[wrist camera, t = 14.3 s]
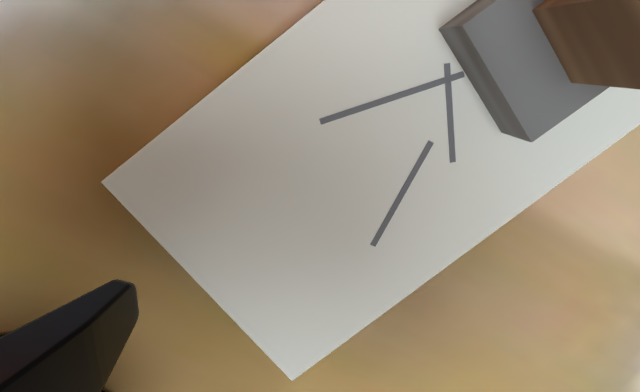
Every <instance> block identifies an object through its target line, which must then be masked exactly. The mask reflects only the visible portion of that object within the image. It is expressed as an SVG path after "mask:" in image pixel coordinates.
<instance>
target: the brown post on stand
mask: <svg viewBox="0 0 640 392" xmlns="http://www.w3.org/2000/svg"><path fill="white" fill-rule="evenodd" d="M439 31H440V33H441V34H442V36H443V38H444V39H445V41H446V43H447V44H448V46H449V47H450V49H451V51H452V52H453V54H454V56H455V57H456V59H457V61H458V62H459V64H460V66H461V67H462V69H463V70H464V72H465V74H466V75H467V77H468V79H469V80H470V82H471V84H472V85H473V87H474V89H475V90H476V92H477V93H478V95H479V97H480V98H481V100H482V102H483V103H484V105H485V107H486V108H487V110H488V112H489V113H490V115H491V116H492V118H493V120H494V121H495V123H496V125H497V126H498V128H499V130H500V131H501V133H504V134H507V135H510V136H513V137H516V138H519V139H522V140H525V141H528V142H531V143H532V142H533V141H535V140H536V139H537V138H539V137H540V136H542V135H543V134H545V133H546V132H547V131H549V130H550V129H552V128H553V127H554V126H556V125H557V124H559V123H560V122H561V121H563V120H564V119H566V118H567V117H568V116H570V115H571V114H573V113H574V112H575V111H577V110H578V109H580V108H581V107H582V106H584V105H585V104H587V103H588V102H589V101H591V100H592V99H594V98H595V97H596V96H598V95H599V94H601V93H602V92H603V91H605V90H606V89H608V88H609V87H619V88H630V89H640V0H477V1H475V2H474V3H473V4H471V5H470V6H469V7H467V8H466V9H465V10H463V11H462V12H461V13H459V14H458V15H457V16H455V17H454V18H453V19H451V20H450V21H448V22H447V23H446V24H444V25H443V26H442V27H440V28H439Z"/></svg>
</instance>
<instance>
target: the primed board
mask: <svg viewBox="0 0 640 392" xmlns="http://www.w3.org/2000/svg"><path fill="white" fill-rule="evenodd" d="M475 1H477V0H324V1H323V2H321V3H320V4H319V5H318V6H316V7H315V8H314V9H313V10H312V11H310V12H309V13H308V14H307V15H305V16H304V17H303V18H302V19H300V20H299V21H298V22H297V23H296V24H294V25H293V26H292V27H291V28H289V29H288V30H287V31H286V32H284V33H283V34H282V35H281V36H280V37H278V38H277V39H276V40H275V41H273V42H272V43H271V44H270V45H268V46H267V47H266V48H265V49H264V50H262V51H261V52H260V53H259V54H257V55H256V56H255V57H254V58H252V59H251V60H250V61H249V62H248V63H246V64H245V65H244V66H243V67H241V68H240V69H239V70H238V71H236V72H235V73H234V74H233V75H232V76H230V77H229V78H228V79H227V80H225V81H224V82H223V83H222V84H221V85H219V86H218V87H217V88H216V89H214V90H213V91H212V92H211V93H209V94H208V95H207V96H206V97H205V98H203V99H202V100H201V101H200V102H198V103H197V104H196V105H195V106H193V107H192V108H191V109H190V110H189V111H187V112H186V113H185V114H184V115H182V116H181V117H180V118H179V119H177V120H176V121H175V122H174V123H173V124H171V125H170V126H169V127H168V128H166V129H165V130H164V131H163V132H161V133H160V134H159V135H158V136H157V137H155V138H154V139H153V140H152V141H150V142H149V143H148V144H147V145H145V146H144V147H143V148H142V149H141V150H139V151H138V152H137V153H136V154H134V155H133V156H132V157H131V158H129V159H128V160H127V161H126V162H125V163H123V164H122V165H121V166H120V167H118V168H117V169H116V170H115V171H114V172H112V173H111V174H110V175H109V176H107V177H106V178H105V179H104V180H102V181H101V183H102V184H103V185H104V186H105V187H106V188H107V189H108V190H109V191H110V192H111V193H112V194H113V195H114V196H115V197H116V198H117V200H118V201H119V202H120V203H121V204H122V205H123V206H124V207H125V208H126V209H127V210H128V211H129V212H130V213H131V214H132V215H133V216H134V217H135V218H136V219H137V220H138V221H139V222H140V223H141V225H142V226H143V227H144V228H145V229H146V230H147V231H148V232H149V233H150V234H151V235H152V236H153V237H154V238H155V239H156V240H157V241H158V242H159V243H160V244H161V245H162V246H163V247H164V248H165V249H166V251H167V252H168V253H169V254H170V255H171V256H172V257H173V258H174V259H175V260H176V261H177V262H178V263H179V264H180V265H181V266H182V267H183V268H184V269H185V270H186V271H187V272H188V273H189V274H190V276H191V277H192V278H193V279H194V280H195V281H196V282H197V283H198V284H199V285H200V286H201V287H202V288H203V289H204V290H205V291H206V292H207V293H208V294H209V295H210V296H211V297H212V298H213V299H214V301H215V302H216V303H217V304H218V305H219V306H220V307H221V308H222V309H223V310H224V311H225V312H226V313H227V314H228V315H229V316H230V317H231V318H232V319H233V320H234V321H235V322H236V323H237V324H238V326H239V327H240V328H241V329H242V330H243V331H244V332H245V333H246V334H247V335H248V336H249V337H250V338H251V339H252V340H253V341H254V342H255V343H256V344H257V345H258V346H259V347H260V348H261V349H262V351H263V352H264V353H265V354H266V355H267V356H268V357H269V358H270V359H271V360H272V361H273V362H274V363H275V364H276V365H277V366H278V367H279V368H280V369H281V370H282V371H283V372H284V373H285V374H286V376H287V377H288V378H289V379H290V380H291V381H293V380H294V379H295V378H297V377H298V376H299V375H301V374H302V373H304V372H305V371H306V370H308V369H309V368H310V367H312V366H313V365H314V364H316V363H317V362H318V361H320V360H321V359H322V358H324V357H325V356H327V355H328V354H329V353H331V352H332V351H333V350H335V349H336V348H337V347H339V346H340V345H341V344H343V343H344V342H346V341H347V340H348V339H350V338H351V337H352V336H354V335H355V334H356V333H358V332H359V331H360V330H362V329H363V328H364V327H366V326H367V325H369V324H370V323H371V322H373V321H374V320H375V319H377V318H378V317H379V316H381V315H382V314H383V313H385V312H386V311H388V310H389V309H390V308H392V307H393V306H394V305H396V304H397V303H398V302H400V301H401V300H402V299H404V298H405V297H406V296H408V295H409V294H411V293H412V292H413V291H415V290H416V289H417V288H419V287H420V286H421V285H423V284H424V283H425V282H427V281H428V280H430V279H431V278H432V277H434V276H435V275H436V274H438V273H439V272H440V271H442V270H443V269H444V268H446V267H447V266H448V265H450V264H451V263H453V262H454V261H455V260H457V259H458V258H459V257H461V256H462V255H463V254H465V253H466V252H467V251H469V250H470V249H472V248H473V247H474V246H476V245H477V244H478V243H480V242H481V241H482V240H484V239H485V238H486V237H488V236H489V235H490V234H492V233H493V232H495V231H496V230H497V229H499V228H500V227H501V226H503V225H504V224H505V223H507V222H508V221H509V220H511V219H512V218H514V217H515V216H516V215H518V214H519V213H520V212H522V211H523V210H524V209H526V208H527V207H528V206H530V205H531V204H532V203H534V202H535V201H537V200H538V199H539V198H541V197H542V196H543V195H545V194H546V193H547V192H549V191H550V190H551V189H553V188H554V187H556V186H557V185H558V184H560V183H561V182H562V181H564V180H565V179H566V178H568V177H569V176H570V175H572V174H573V173H574V172H576V171H577V170H579V169H580V168H581V167H583V166H584V165H585V164H587V163H588V162H589V161H591V160H592V159H593V158H595V157H596V156H598V155H599V154H600V153H602V152H603V151H604V150H606V149H607V148H608V147H610V146H611V145H612V144H614V143H615V142H616V141H618V140H619V139H621V138H622V137H623V136H625V135H626V134H627V133H629V132H630V131H631V130H633V129H634V128H635V127H637V126H638V125H640V89H630V88H619V87H609V88H608V89H606V90H605V91H603V92H602V93H601V94H599V95H598V96H596V97H595V98H594V99H592V100H591V101H589V102H588V103H587V104H585V105H584V106H582V107H581V108H580V109H578V110H577V111H575V112H574V113H573V114H571V115H570V116H568V117H567V118H566V119H564V120H563V121H561V122H560V123H559V124H557V125H556V126H554V127H553V128H552V129H550V130H549V131H547V132H546V133H545V134H543V135H542V136H540V137H539V138H537V139H536V140H535V141H533V142H532V143H531V142H528V141H525V140H522V139H519V138H516V137H513V136H510V135H507V134H504V133H501V131H500V130H499V128H498V126H497V125H496V123H495V121H494V120H493V118H492V116H491V115H490V113H489V112H488V110H487V108H486V107H485V105H484V103H483V102H482V100H481V98H480V97H479V95H478V93H477V92H476V90H475V89H474V87H473V85H472V84H471V82H470V80H469V79H468V77H467V75H466V74H465V72H464V70H463V69H462V67H461V66H460V64H459V62H458V61H457V59H456V57H455V56H454V54H453V52H452V51H451V49H450V47H449V46H448V44H447V43H446V41H445V39H444V38H443V36H442V34H441V33H440V31H439V28H440V27H442V26H443V25H444V24H446V23H447V22H448V21H450V20H451V19H453V18H454V17H455V16H457V15H458V14H459V13H461V12H462V11H463V10H465V9H466V8H467V7H469V6H470V5H471V4H473V3H474V2H475Z"/></svg>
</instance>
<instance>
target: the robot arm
mask: <svg viewBox="0 0 640 392" xmlns="http://www.w3.org/2000/svg"><path fill="white" fill-rule="evenodd" d="M138 314H139V310H138V301H137V292H136V287H135V285H134V284H133V283H131V282H127V281H122V280H112V281H110V282H108V283H106V284H104V285H102V286H100V287H98V288H96V289H94V290H93V291H91V292H89V293H87V294H85V295H83V296H81V297H79V298H77V299H75V300H73V301H71V302H69V303H67V304H65V305H63V306H61V307H59V308H57V309H55V310H53V311H51V312H49V313H47V314H45V315H44V316H42V317H40V318H38V319H36V320H34V321H32V322H30V323H28V324H26V325H24V326H22V327H20V328H18V329H16V330H14V331H12V332H10V333H8V334H0V392H105V391H103V390H102V389H103V387H104V385H105V383H106V381H107V379H108V378H109V376H110V374H111V372H112V370H113V368H114V366H115V364H116V362H117V360H118V358H119V356H120V354H121V352H122V350H123V348H124V346H125V344H126V342H127V340H128V338H129V336H130V334H131V332H132V330H133V328H134V326H135V324H136V322H137V319H138Z"/></svg>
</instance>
